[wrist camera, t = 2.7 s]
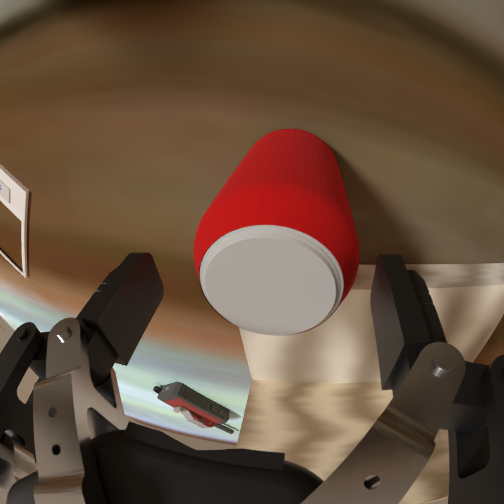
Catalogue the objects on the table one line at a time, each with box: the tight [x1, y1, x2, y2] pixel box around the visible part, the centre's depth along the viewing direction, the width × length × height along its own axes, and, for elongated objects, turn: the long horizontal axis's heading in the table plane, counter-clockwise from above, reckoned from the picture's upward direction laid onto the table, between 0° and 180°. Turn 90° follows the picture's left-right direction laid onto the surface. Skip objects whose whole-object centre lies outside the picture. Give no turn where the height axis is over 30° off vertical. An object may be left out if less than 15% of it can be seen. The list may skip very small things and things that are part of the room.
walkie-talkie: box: [153, 382, 234, 434], centre depth 44 cm, size 9×4×20 cm
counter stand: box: [236, 263, 504, 504], centre depth 21 cm, size 26×26×18 cm
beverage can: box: [194, 129, 360, 336], centre depth 14 cm, size 6×6×12 cm
